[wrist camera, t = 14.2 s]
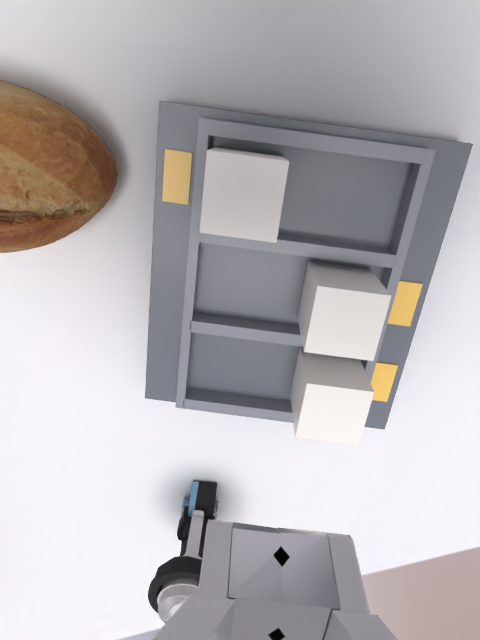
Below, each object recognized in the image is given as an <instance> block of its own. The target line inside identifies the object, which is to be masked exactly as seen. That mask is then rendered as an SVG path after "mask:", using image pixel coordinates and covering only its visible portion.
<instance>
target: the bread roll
mask: <svg viewBox="0 0 480 640" xmlns="http://www.w3.org/2000/svg"><path fill="white" fill-rule="evenodd" d="M116 181H117V170H116V164H115V160H114V158H113V156H112V154H111V153H110V151H109V150H108V148H107V147H106V145H105V144H104V142H103V141H102V139H101V138H100V136H99V135H98V134H97V133H96V132H95V131H94V130H93V129H92V128H91V127H90V126H89V125H87V124H86V123H85V122H84V121H83V120H81V119H80V118H79V117H78V116H76V115H75V114H74V113H72V112H71V111H69V110H68V109H66V108H64V107H63V106H61V105H59V104H58V103H56V102H54V101H52V100H50V99H48V98H46V97H44V96H42V95H40V94H38V93H35V92H33V91H31V90H28V89H25V88H23V87H20V86H17V85H14V84H12V83H9V82H5V81H2V80H0V253H7V252H16V251H23V250H28V249H32V248H37V247H41V246H44V245H47V244H50V243H53V242H55V241H57V240H59V239H61V238H64V237H66V236H67V235H69V234H71V233H72V232H74V231H76V230H78V229H79V228H80V227H82V226H83V225H84V224H85V223H87V222H88V221H89V220H90V219H91V218H92V217H93V216H94V215H95V214H96V213H97V212H98V211H99V210H100V209H102V208H103V207H104V206H105V204H106V203H107V202H108V200H109V199H110V197H111V195H112V193H113V190H114V188H115V185H116Z"/></svg>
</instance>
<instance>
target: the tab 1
mask: <svg viewBox="0 0 480 640" xmlns="http://www.w3.org/2000/svg"><path fill="white" fill-rule="evenodd" d="M288 167H289V161H288V160H287V158H286V157H285V156H280V155H273V154H265V153H258V152H251V151H243V150H236V149H229V148H221V147H214V148H212V149H209V150H207V154H206V165H205V176H204V188H203V199H202V210H201V221H200V232H199V233H206V234H213V235H220V236H228V237H235V238H243V239H250V240H258V241H265V242H273V243H276V242H277V236H278V230H279V223H280V217H281V211H282V205H283V198H284V192H285V186H286V180H287V173H288Z"/></svg>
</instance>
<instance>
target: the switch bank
mask: <svg viewBox="0 0 480 640" xmlns="http://www.w3.org/2000/svg"><path fill="white" fill-rule="evenodd" d="M472 145H473V144H470V143H463V142H455V141H448V140H441V139H433V138H426V137H419V136H412V135H404V134H397V133H390V132H382V131H375V130H368V129H360V128H353V127H346V126H339V125H331V124H324V123H317V122H309V121H302V120H295V119H287V118H280V117H273V116H266V115H258V114H251V113H244V112H236V111H229V110H222V109H215V108H207V107H200V106H193V105H185V104H178V103H171V102H163V101H160V102H159V123H158V144H157V164H156V185H155V205H154V226H153V247H152V267H151V288H150V308H149V329H148V349H147V370H146V391H145V398H147V399H155V400H163V401H170V402H176V407H177V408H184V409H192V410H200V411H208V412H215V413H223V414H231V415H238V416H246V417H254V418H261V419H269V420H277V421H284V422H292V423H293V414H292V406H291V397H290V393H291V388H292V383H293V378H294V373H295V368H296V363H297V358H298V353H299V348H300V347H303V344H302V339H301V334H300V329H299V324H298V319H297V317H298V312H299V307H300V302H301V296H302V291H303V286H304V281H305V276H306V270H307V265H308V261H314V262H321V263H328V264H336V265H343V266H351V267H358V268H366V269H371V271H372V272H373V273H374V274H375V276H376V277H377V278H378V279H379V281H380V282H381V283H382V284H383V286H384V287H385V288H386V289H387V291H388V292H389V293H390V295H391V300H390V303H389V307H388V310H387V314H386V318H385V321H384V325H383V328H382V332H381V336H380V339H379V343H378V346H377V350H376V354H375V357H374V361H368V360H361V359H360V360H361V363H362V365H363V367H364V370H365V372H366V374H367V377H368V379H369V381H370V383H371V386H372V388H373V390H374V395H373V398H372V402H371V405H370V409H369V412H368V416H367V419H366V423H365V426H364V427H370V428H378V429H385V426H386V423H387V420H388V416H389V413H390V410H391V407H392V404H393V400H394V397H395V394H396V391H397V387H398V384H399V381H400V378H401V374H402V371H403V368H404V365H405V361H406V358H407V355H408V352H409V349H410V345H411V342H412V339H413V336H414V332H415V329H416V326H417V323H418V319H419V316H420V313H421V310H422V306H423V303H424V300H425V297H426V294H427V290H428V287H429V284H430V281H431V277H432V274H433V271H434V268H435V264H436V261H437V258H438V255H439V251H440V248H441V245H442V242H443V239H444V235H445V232H446V229H447V226H448V222H449V219H450V216H451V213H452V209H453V206H454V203H455V200H456V196H457V193H458V190H459V187H460V184H461V180H462V177H463V174H464V171H465V167H466V164H467V161H468V158H469V154H470V151H471V148H472ZM214 147H221V148H229V149H236V150H243V151H251V152H258V153H265V154H273V155H280V156H285V157H286V158H287V160H288V161H289V167H288V173H287V180H286V186H285V192H284V198H283V205H282V211H281V217H280V223H279V230H278V236H277V242H276V243H273V242H265V241H258V240H250V239H243V238H235V237H228V236H220V235H213V234H206V233H199V232H200V221H201V210H202V199H203V188H204V176H205V165H206V154H207V150H209V149H212V148H214Z"/></svg>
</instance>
